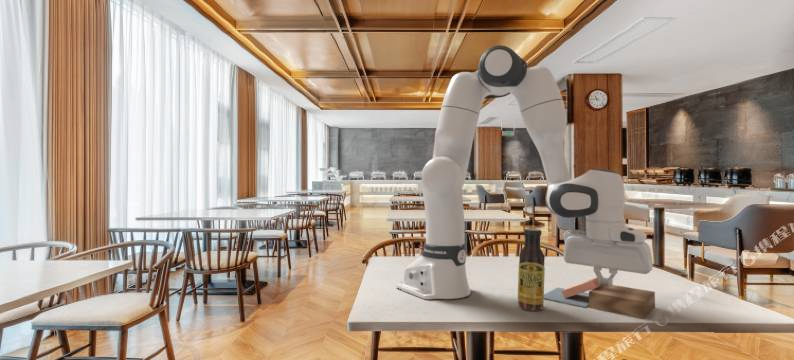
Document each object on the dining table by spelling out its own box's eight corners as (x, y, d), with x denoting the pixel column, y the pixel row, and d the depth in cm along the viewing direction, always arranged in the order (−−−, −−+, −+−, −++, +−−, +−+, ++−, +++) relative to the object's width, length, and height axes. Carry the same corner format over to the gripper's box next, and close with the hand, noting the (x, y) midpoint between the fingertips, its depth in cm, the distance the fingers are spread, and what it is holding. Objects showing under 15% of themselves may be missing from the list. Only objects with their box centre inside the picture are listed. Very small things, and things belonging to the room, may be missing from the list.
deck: (589, 307, 96) (588, 291, 96) (602, 297, 104) (602, 283, 104) (644, 319, 87) (644, 301, 87) (654, 307, 95) (654, 291, 95)
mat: (539, 298, 104) (539, 297, 104) (557, 288, 113) (557, 287, 113) (585, 308, 95) (585, 306, 95) (601, 296, 105) (601, 295, 105)
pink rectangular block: (564, 298, 102) (561, 291, 103) (573, 293, 107) (569, 286, 107) (596, 288, 97) (592, 280, 98) (603, 283, 101) (599, 276, 102)
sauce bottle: (516, 310, 94) (516, 230, 95) (518, 302, 100) (517, 227, 100) (545, 313, 92) (544, 231, 92) (545, 305, 98) (544, 228, 98)
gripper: (559, 229, 103) (559, 280, 103) (647, 236, 89) (648, 296, 89) (568, 227, 108) (568, 276, 108) (653, 234, 93) (654, 290, 93)
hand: (605, 285), depth 98 cm, fingers closed
